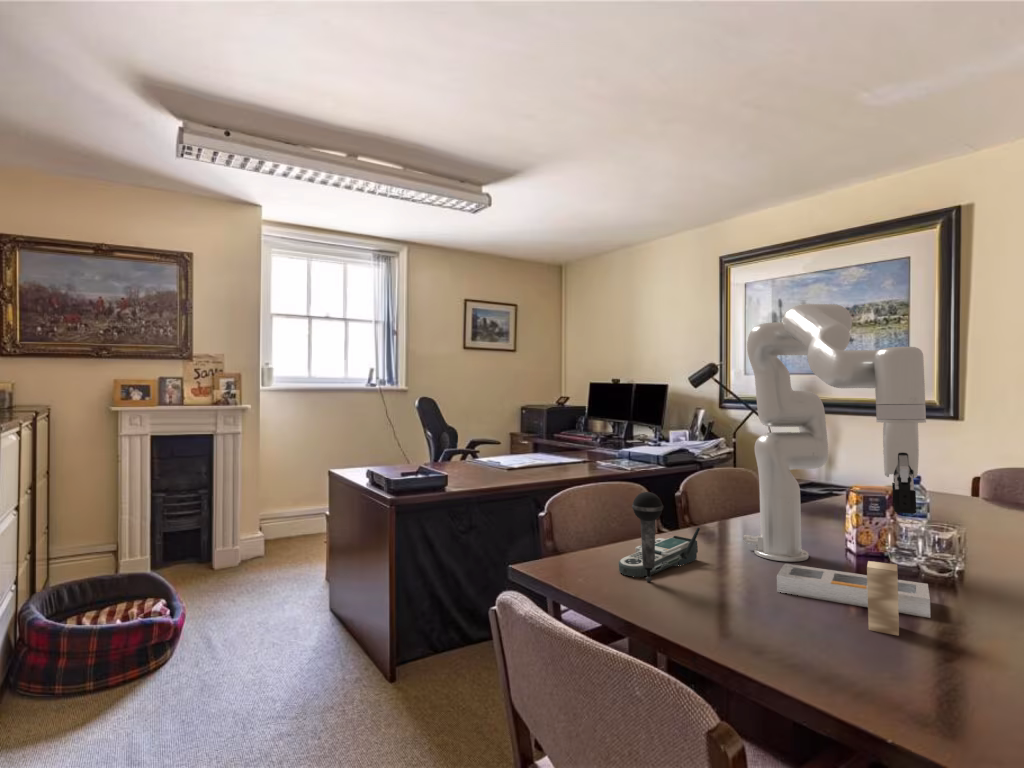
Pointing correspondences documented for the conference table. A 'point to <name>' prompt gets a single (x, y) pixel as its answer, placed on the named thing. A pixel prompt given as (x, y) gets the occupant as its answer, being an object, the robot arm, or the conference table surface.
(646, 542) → the microphone
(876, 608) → the peg
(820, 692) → the conference table surface
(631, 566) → the communication device
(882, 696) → the conference table surface
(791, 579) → the white slotted block
